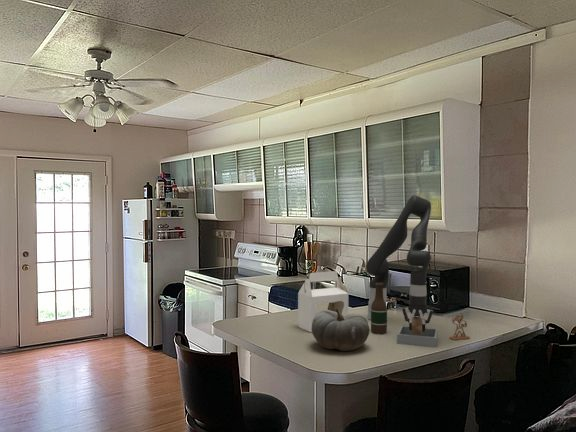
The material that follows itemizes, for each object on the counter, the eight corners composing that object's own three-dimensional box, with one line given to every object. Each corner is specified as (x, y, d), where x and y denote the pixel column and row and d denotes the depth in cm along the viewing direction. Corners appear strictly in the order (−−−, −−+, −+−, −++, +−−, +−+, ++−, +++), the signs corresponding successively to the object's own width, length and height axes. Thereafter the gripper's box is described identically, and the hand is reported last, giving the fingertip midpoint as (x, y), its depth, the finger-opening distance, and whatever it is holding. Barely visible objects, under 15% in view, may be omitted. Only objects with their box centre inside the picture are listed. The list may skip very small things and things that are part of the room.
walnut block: (411, 333, 224) (411, 318, 224) (412, 331, 228) (412, 316, 228) (421, 334, 223) (422, 319, 222) (422, 332, 227) (422, 317, 227)
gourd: (306, 332, 227) (313, 296, 225) (358, 341, 229) (366, 305, 227) (311, 354, 202) (319, 314, 200) (370, 364, 204) (378, 324, 202)
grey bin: (397, 343, 220) (397, 334, 220) (401, 334, 236) (401, 325, 236) (435, 347, 215) (436, 338, 215) (437, 337, 231) (437, 329, 231)
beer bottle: (387, 331, 242) (388, 282, 241) (385, 335, 234) (386, 284, 234) (372, 329, 244) (372, 281, 244) (369, 333, 237) (370, 283, 236)
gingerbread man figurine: (464, 336, 232) (464, 311, 232) (469, 338, 229) (470, 313, 229) (448, 338, 229) (449, 312, 229) (454, 340, 226) (455, 314, 225)
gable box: (334, 322, 260) (334, 269, 259) (348, 327, 248) (349, 272, 247) (297, 326, 249) (297, 271, 248) (310, 333, 237) (311, 275, 237)
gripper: (401, 294, 224) (400, 331, 224) (433, 296, 219) (432, 335, 220) (402, 291, 231) (402, 327, 231) (434, 293, 226) (433, 330, 227)
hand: (417, 331), depth 225 cm, fingers closed on walnut block, 4 cm apart
